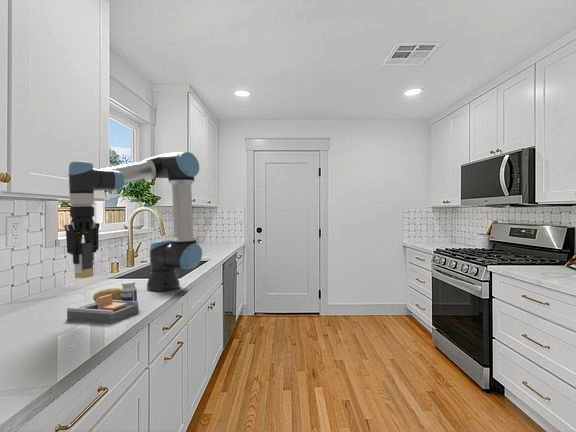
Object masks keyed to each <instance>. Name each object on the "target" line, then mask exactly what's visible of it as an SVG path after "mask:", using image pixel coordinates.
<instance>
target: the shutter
mask: <svg viewBox="0 0 576 432" xmlns="http://www.w3.org/2000/svg"><path fill="white" fill-rule="evenodd" d="M97 305H98V309H100V310H116V309H119V308H121V307H124V306H127V303H116V302H112V294H109V295H106V296H102V297H99V298H97Z"/></svg>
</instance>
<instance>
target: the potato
mask: <svg viewBox="0 0 576 432" xmlns="http://www.w3.org/2000/svg"><path fill="white" fill-rule="evenodd" d="M121 289H122V288H117V287H116V288H107V289H102V290H99V291H96V292H95V293H94V294H93V297H92V299H93V302H94V303H95V302H96V299H97V298H99V297H102V296H106V295H109V294H112V300H121Z"/></svg>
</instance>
